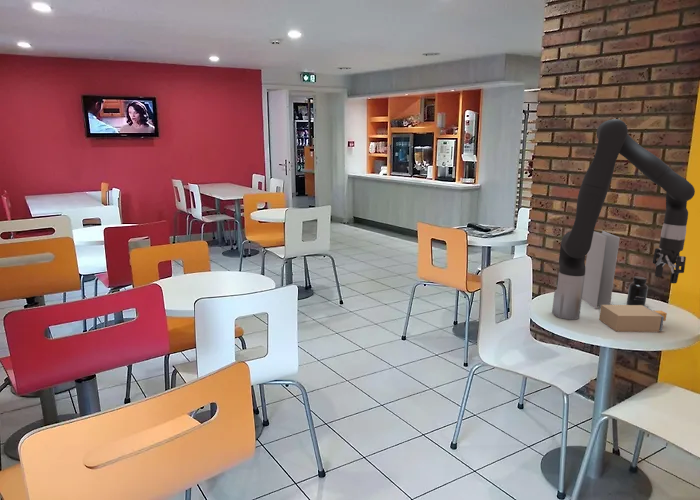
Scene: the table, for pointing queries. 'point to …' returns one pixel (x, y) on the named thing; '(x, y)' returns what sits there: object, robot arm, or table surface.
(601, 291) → the grey standing panel
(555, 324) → the table surface
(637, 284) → the supplement bottle
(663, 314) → the tray
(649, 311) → the sleeve
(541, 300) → the table surface
